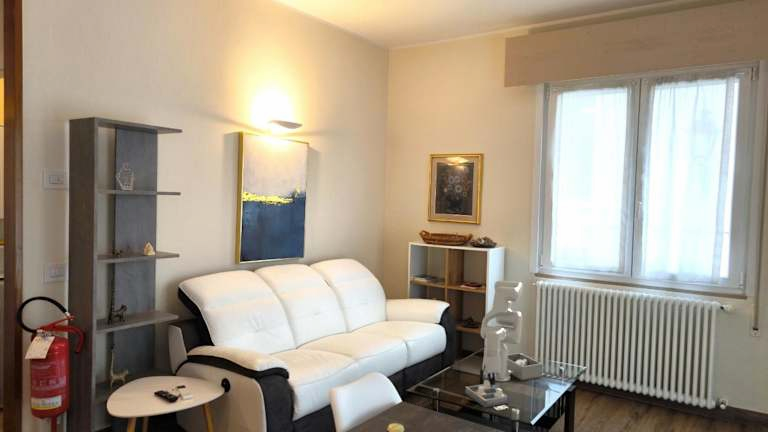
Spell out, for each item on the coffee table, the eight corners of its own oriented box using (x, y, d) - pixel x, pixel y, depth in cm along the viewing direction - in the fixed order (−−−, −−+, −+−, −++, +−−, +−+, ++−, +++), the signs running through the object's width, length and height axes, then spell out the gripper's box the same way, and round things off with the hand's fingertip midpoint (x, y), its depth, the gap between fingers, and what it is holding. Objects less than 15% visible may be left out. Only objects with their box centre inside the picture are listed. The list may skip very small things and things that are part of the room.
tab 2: (487, 388, 303) (487, 379, 303) (491, 390, 300) (492, 382, 299) (481, 389, 302) (481, 380, 302) (485, 391, 298) (485, 383, 298)
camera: (523, 376, 325) (524, 360, 324) (511, 374, 329) (512, 358, 328) (531, 369, 337) (531, 353, 337) (519, 366, 341) (519, 351, 341)
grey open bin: (519, 364, 346) (520, 352, 345) (542, 376, 326) (542, 363, 325) (500, 367, 340) (500, 355, 340) (522, 380, 320) (522, 367, 319)
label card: (504, 405, 284) (504, 404, 284) (508, 408, 281) (508, 407, 281) (493, 407, 281) (493, 407, 281) (497, 410, 278) (497, 409, 278)
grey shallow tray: (487, 389, 306) (487, 382, 306) (508, 402, 287) (508, 396, 287) (465, 393, 300) (465, 386, 300) (484, 407, 282) (485, 400, 281)
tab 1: (481, 394, 295) (482, 385, 295) (486, 397, 291) (486, 388, 291) (475, 395, 293) (475, 386, 293) (479, 398, 290) (480, 389, 289)
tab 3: (499, 396, 292) (500, 387, 292) (504, 399, 289) (504, 390, 288) (493, 397, 291) (494, 388, 291) (498, 400, 287) (498, 391, 287)
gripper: (499, 348, 307) (499, 380, 308) (477, 351, 301) (477, 383, 302) (507, 352, 300) (506, 384, 301) (485, 356, 294) (484, 388, 295)
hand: (491, 384), depth 302 cm, fingers closed
